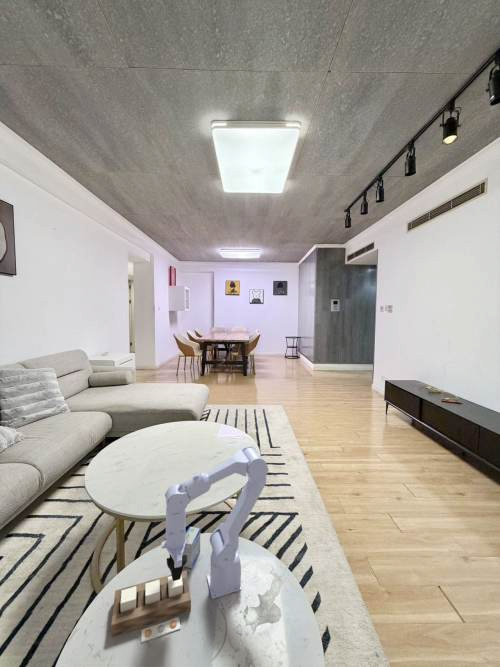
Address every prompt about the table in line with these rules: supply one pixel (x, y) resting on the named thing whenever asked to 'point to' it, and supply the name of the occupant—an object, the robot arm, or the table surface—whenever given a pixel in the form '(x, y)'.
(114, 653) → the table surface
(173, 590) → the button
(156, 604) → the board
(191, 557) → the medicine box
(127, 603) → the button
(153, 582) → the button middle
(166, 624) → the pattern card
